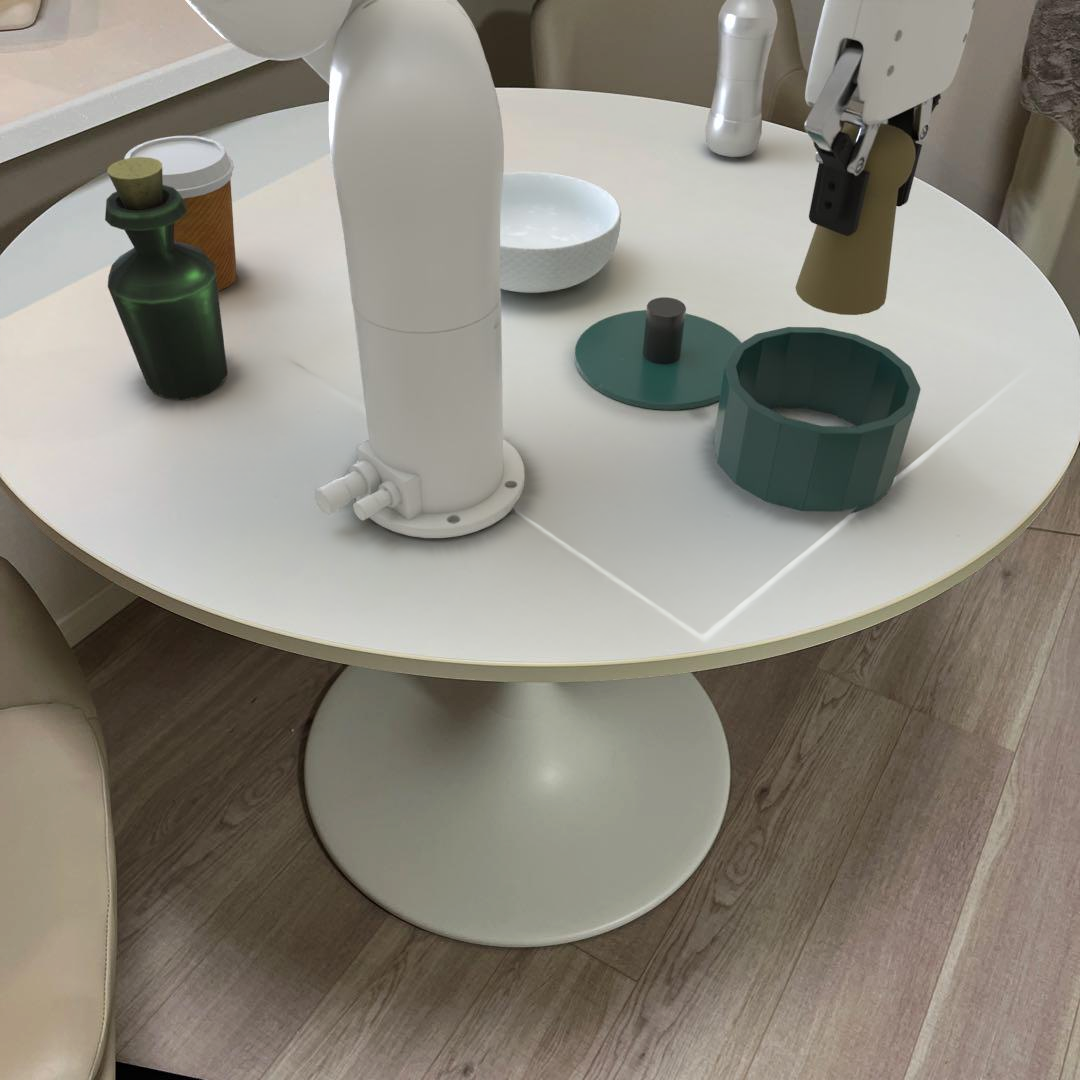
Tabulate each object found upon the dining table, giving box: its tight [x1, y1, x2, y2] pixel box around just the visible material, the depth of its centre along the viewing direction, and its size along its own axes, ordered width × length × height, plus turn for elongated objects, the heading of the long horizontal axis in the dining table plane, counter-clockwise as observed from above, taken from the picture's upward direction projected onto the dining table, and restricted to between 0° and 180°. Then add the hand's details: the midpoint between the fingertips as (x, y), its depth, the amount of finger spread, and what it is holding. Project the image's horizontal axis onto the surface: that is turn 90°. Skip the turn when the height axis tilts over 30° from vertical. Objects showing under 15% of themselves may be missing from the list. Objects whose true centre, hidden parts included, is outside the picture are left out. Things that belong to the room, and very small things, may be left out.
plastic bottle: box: [704, 0, 779, 158], centre depth 118 cm, size 6×7×20 cm
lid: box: [574, 296, 742, 411], centre depth 88 cm, size 15×15×6 cm
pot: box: [712, 326, 922, 514], centre depth 78 cm, size 14×14×8 cm
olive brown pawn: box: [794, 123, 916, 316], centre depth 68 cm, size 6×6×11 cm
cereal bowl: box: [500, 171, 622, 294], centre depth 99 cm, size 17×17×7 cm
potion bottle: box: [104, 157, 228, 400], centre depth 82 cm, size 8×8×18 cm
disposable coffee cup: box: [123, 135, 238, 292], centre depth 96 cm, size 10×10×12 cm
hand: (858, 210), depth 68 cm, fingers closed on olive brown pawn, 5 cm apart
